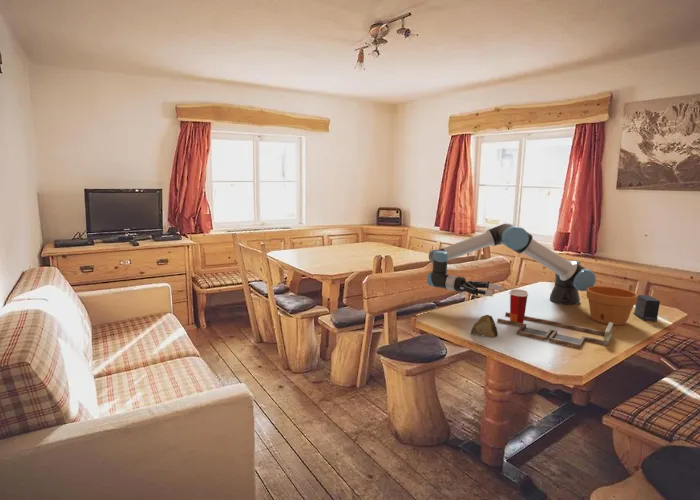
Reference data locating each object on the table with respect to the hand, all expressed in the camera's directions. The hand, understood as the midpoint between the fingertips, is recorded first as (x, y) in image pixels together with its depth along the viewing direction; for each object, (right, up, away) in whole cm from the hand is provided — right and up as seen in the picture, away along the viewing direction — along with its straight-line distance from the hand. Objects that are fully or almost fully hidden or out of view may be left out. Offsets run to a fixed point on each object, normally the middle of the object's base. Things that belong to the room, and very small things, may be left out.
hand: (497, 290), depth 206 cm
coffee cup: (+8, -14, -3) cm, 17 cm away
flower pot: (+54, -14, 0) cm, 56 cm away
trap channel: (+17, -17, -17) cm, 30 cm away
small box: (+75, -14, +4) cm, 77 cm away
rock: (-13, -17, -21) cm, 30 cm away
